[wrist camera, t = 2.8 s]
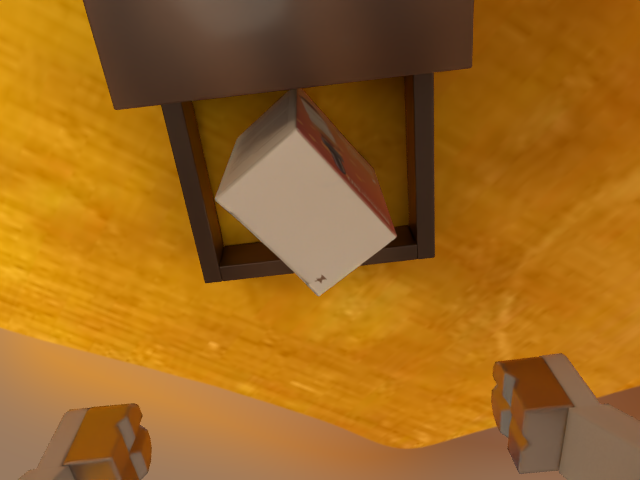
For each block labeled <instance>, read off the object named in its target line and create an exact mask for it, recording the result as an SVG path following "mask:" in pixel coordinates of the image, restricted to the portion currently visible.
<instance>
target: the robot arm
mask: <svg viewBox="0 0 640 480" xmlns="http://www.w3.org/2000/svg"><path fill="white" fill-rule="evenodd" d="M493 377H494V379H495V381H496V383H497V385H496V386H495V387H494V388H493V390H492V400H491V402H492V409H493V415H494V418H495V421H496V424H497V426H498V429H499V431H500V432H501V433H502V434H503V435H505V436H506V437H508V450H509V453H510V455H511V457H512V459H513V461H514V464H515V466H516V468H517V470H518V472H519V474H524V473H535V472H547V471H558V470H559V473H560V474H561V475H563V476H564V477H565V478H566V479H567V480H640V421H639V420H637V419H635V418H633V417H632V416H630V415H628V414H626V413H624V412H622V411H620V410H619V409H617V408H615V407H613V406H611V405H609V404H600V402H599V401H598V399H597V398H596V397H595V395H594V394H593V393H592V391H591V390H590V388H589V387H588V386H587V384H586V383H585V382H584V380H583V379H582V377H581V376H580V375H579V373H578V372H577V371H576V369H575V368H574V366H573V365H572V364H571V362H570V361H569V360H568V358H567V357H566V356H565V355H563V354H562V353H559V354H552V355H544V356H539V357H531V358H522V359H514V360H506V361H498V362H495V364H494V367H493ZM141 419H142V413H141V411H140V408H139V406H138V405H137V404H121V405H110V406H99V407H92V408H82V409H71V410H69V411H67V412H66V413H65V414H64V415H63V417H62V419H61V421H60V423H59V425H58V427H57V429H56V431H55V433H54V435H53V437H52V439H51V441H50V443H49V445H48V447H47V449H46V451H45V453H44V455H43V457H42V459H41V461H40V463H39V465H38V467H37V469H33V470H29V471H28V472H26V473H25V474H24V475H23V476H21V477H20V478H19V479H18V480H141V479H142V478H143V477H144V476H145V475H146V474H147V473H148V471H149V466H150V463H151V449H152V447H151V440H150V436H149V433H148V430H147V429H145V428H144V427H143V426H141V425H140V422H141Z"/></svg>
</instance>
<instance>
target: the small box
mask: <svg viewBox="0 0 640 480" xmlns="http://www.w3.org/2000/svg"><path fill="white" fill-rule="evenodd" d="M215 201H216V202H217V203H218V204H220V205H221V206H222V207H223V208H224V209H226V210H227V211H228V212H229V213H230V214H232V215H233V216H234V217H235V218H236V219H237V220H238V221H240V222H241V223H242V224H243V225H244V226H245V227H246V228H247V229H248V230H249V231H250V232H252V233H253V234H254V235H255V236H256V237H257V238H258V239H259V240H260V241H261V242H262V243H263V244H265V245H266V246H267V247H268V248H269V249H270V250H271V251H272V252H273V253H274V254H275V255H276V256H278V257H279V258H280V259H281V260H282V261H283V262H284V263H285V264H286V265H287V266H288V267H289V268H290V269H291V270H293V272H294V273H295V274H297V275H298V276H299V277H300V278H301V279H302V280H303V281H304V282H305V283H306V285H307V286H308V287H309V288H310V289H311V290H312V291H313V292H314V293H315V294H316V295H317V296H320V295H321V294H323V293H324V292H325V291H327V290H328V289H329V288H331V287H332V286H333V285H335V284H336V283H337V282H339V281H340V280H341V279H343V278H344V277H345V276H347V275H348V274H349V273H351V272H352V271H353V270H355V269H356V268H357V267H358V266H360V265H361V264H362V263H364V262H365V261H366V260H368V259H369V258H370V257H372V256H373V255H374V254H376V253H377V252H378V251H380V250H381V249H382V248H383V247H385V246H386V245H387V244H389V243H390V242H391V241H392V240H394V239H395V238H396V237H397V234H396V232H395V229H394V226H393V223H392V220H391V217H390V214H389V211H388V209H387V206H386V203H385V200H384V197H383V194H382V191H381V188H380V185H379V182H378V179H377V177H376V174H375V171H374V169H373V167H372V166H371V165H370V164H369V163H368V162H367V161H366V160H365V159H364V158H363V157H362V156H361V155H360V154H359V153H358V152H357V151H356V149H355V148H354V147H353V146H352V145H351V144H350V143H349V142H348V141H347V140H346V138H345V137H344V136H343V135H342V134H341V133H340V132H339V130H338V129H337V128H336V127H335V126H334V125H333V123H332V122H331V121H330V120H329V119H328V118H327V117H326V115H325V114H324V113H323V112H322V111H321V110H320V109H319V108H318V106H317V105H316V104H315V103H314V102H313V101H312V100H311V99H310V97H309V96H308V95H307V94H306V93H305V92H304V91H303V89H302V88H298V89H290V90H289V91H288V92H287V93H285V94H284V95H283V96H282V97H281V98H280V99H279V100H278V101H277V102H276V103H274V104H273V105H272V106H271V107H270V108H269V109H268V110H267V111H266V112H265V113H264V114H263V115H261V116H260V117H259V118H258V119H257V120H256V121H255V122H254V123H253V124H252V125H251V126H250V127H248V128H247V129H246V130H245V131H244V132H243V133H242V134H241V135H240V136H239V137H238V138H237V140H236V143H235V146H234V148H233V151H232V153H231V156H230V159H229V161H228V164H227V167H226V170H225V172H224V175H223V178H222V180H221V183H220V186H219V189H218V191H217V194H216V197H215Z"/></svg>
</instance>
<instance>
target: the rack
mask: <svg viewBox="0 0 640 480" xmlns="http://www.w3.org/2000/svg"><path fill="white" fill-rule="evenodd" d="M83 2H84V6H85V9H86V13H87V16H88V20H89V23H90V27H91V30H92V33H93V37H94V40H95V44H96V47H97V51H98V54H99V58H100V61H101V65H102V68H103V71H104V75H105V78H106V82H107V85H108V89H109V92H110V96H111V99H112V102H113V106H114V109H115V110H120V109H129V108H137V107H146V106H154V105H161V107H162V111H163V115H164V119H165V123H166V127H167V131H168V135H169V139H170V143H171V147H172V151H173V155H174V159H175V163H176V167H177V171H178V175H179V179H180V183H181V187H182V191H183V195H184V199H185V203H186V208H187V212H188V216H189V220H190V224H191V228H192V232H193V236H194V240H195V244H196V248H197V252H198V256H199V260H200V264H201V268H202V272H203V276H204V280H205V283H212V282H221V281H229V280H237V279H246V278H255V277H264V276H273V275H282V274H291V273H294V272H293V270H291V269H290V268H289V267H288V266H287V265H286V264H285V263H284V262H283V261H282V260H281V259H280V258H279V257H278V256H276V255H275V254H274V253H273V252H272V251H271V250H270V249H269V248H268V247H267V246H266V245H265V244H263V243H262V242H260V243H251V244H242V245H233V246H225V247H224V244H223V240H222V235H221V231H220V226H219V221H218V217H217V212H216V208H215V203H214V199H213V194H212V190H211V185H210V180H209V176H208V171H207V167H206V162H205V158H204V153H203V149H202V144H201V139H200V135H199V130H198V126H197V121H196V117H195V112H194V108H193V103H192V101H197V100H205V99H214V98H222V97H231V96H239V95H247V94H256V93H264V92H273V91H281V90H290V89H298V88H307V87H315V86H324V85H332V84H341V83H349V82H357V81H366V80H374V79H383V78H391V77H400V76H404V83H405V115H406V147H407V178H408V210H409V226H400V227H394V229H395V232H396V234H397V237H396V238H395V239H394V240H392V241H391V242H390V243H389V244H387V245H386V246H385V247H383V248H382V249H381V250H380V251H378V252H377V253H376V254H374V255H373V256H372V257H370V258H369V259H368V260H366V261H365V262H364V263H362V264H361V265H370V264H379V263H388V262H397V261H406V260H414V259H425V258H434V257H435V227H434V72H442V71H451V70H459V69H468V68H471V67H472V50H473V13H474V0H83ZM361 265H360V266H361Z"/></svg>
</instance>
